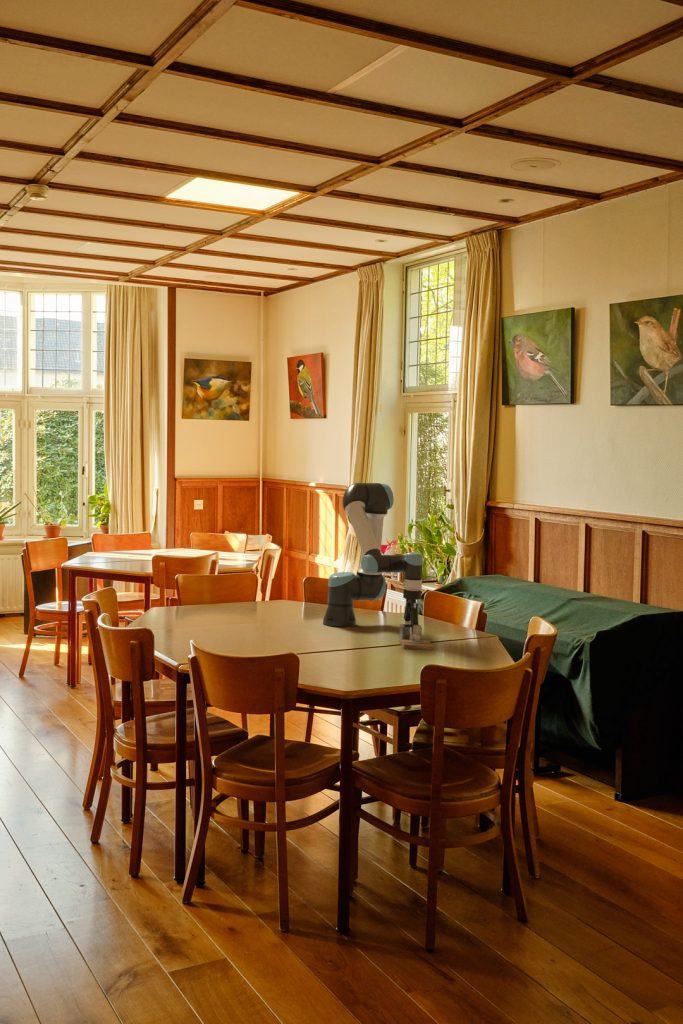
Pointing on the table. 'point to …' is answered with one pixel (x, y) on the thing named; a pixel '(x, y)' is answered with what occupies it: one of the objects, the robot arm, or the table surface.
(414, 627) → the post block
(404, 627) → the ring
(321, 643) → the table surface
